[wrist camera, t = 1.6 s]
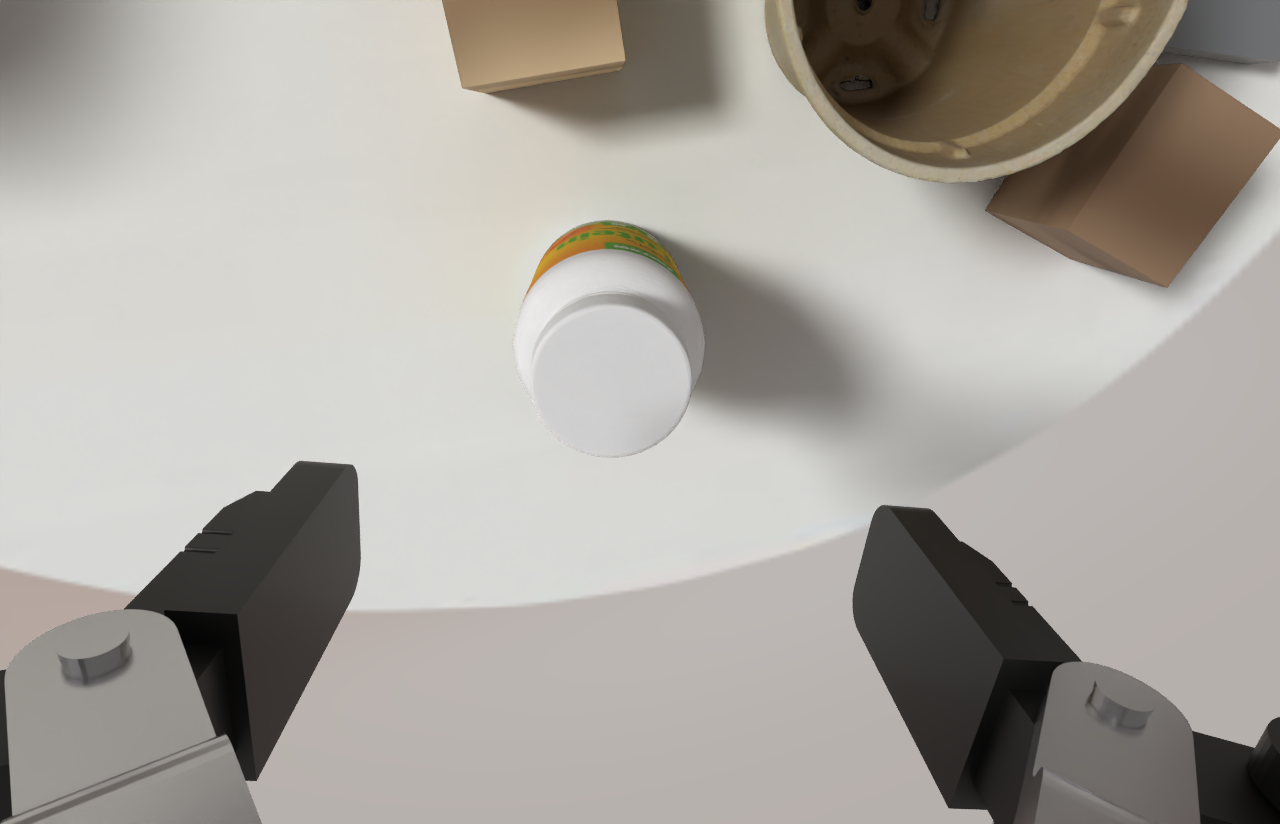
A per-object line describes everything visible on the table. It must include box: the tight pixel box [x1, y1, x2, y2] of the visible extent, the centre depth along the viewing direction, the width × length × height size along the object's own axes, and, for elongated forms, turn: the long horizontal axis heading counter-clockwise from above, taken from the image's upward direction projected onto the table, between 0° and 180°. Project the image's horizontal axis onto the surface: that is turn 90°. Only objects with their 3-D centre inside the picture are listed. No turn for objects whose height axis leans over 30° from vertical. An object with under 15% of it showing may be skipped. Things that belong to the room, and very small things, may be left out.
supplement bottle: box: [513, 220, 705, 457], centre depth 22 cm, size 5×5×10 cm
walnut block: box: [985, 63, 1280, 288], centre depth 23 cm, size 5×4×5 cm
